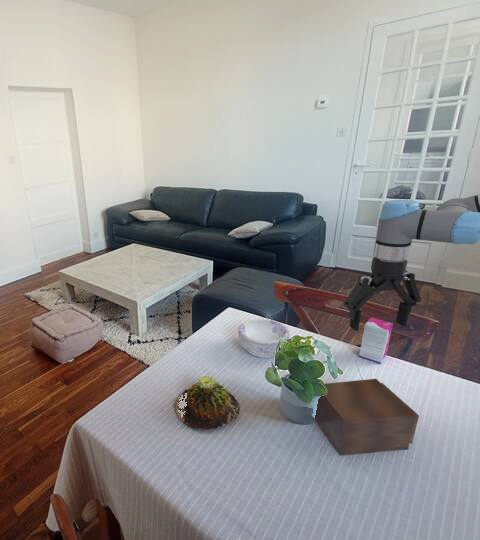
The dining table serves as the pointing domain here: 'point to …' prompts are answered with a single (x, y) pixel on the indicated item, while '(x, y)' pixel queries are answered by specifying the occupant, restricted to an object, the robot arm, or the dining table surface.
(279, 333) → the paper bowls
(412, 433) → the drawer
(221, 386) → the cactus
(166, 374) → the dining table surface
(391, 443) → the cabinet
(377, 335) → the supplement box
